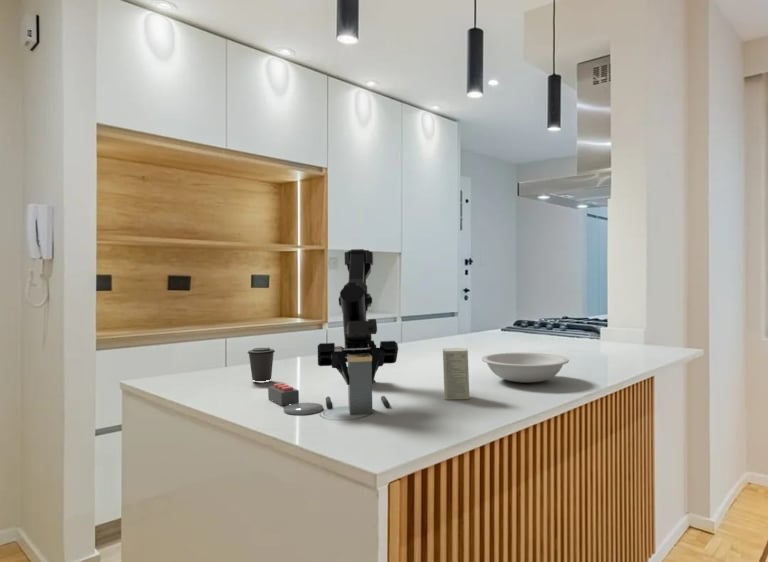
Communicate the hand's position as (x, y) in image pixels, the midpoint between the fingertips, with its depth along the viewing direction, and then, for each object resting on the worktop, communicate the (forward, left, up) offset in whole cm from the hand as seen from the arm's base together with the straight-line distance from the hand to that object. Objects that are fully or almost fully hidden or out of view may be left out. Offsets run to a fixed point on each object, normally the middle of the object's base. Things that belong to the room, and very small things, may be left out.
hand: (360, 383), depth 117 cm
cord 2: (-9, -3, -7) cm, 12 cm away
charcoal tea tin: (-1, -1, -7) cm, 7 cm away
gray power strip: (+10, -21, -7) cm, 24 cm away
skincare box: (-27, +2, -7) cm, 27 cm away
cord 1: (+3, -11, -7) cm, 13 cm away
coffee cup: (+5, -49, -7) cm, 50 cm away
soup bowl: (-56, -2, -7) cm, 56 cm away
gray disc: (+9, -10, -7) cm, 15 cm away
